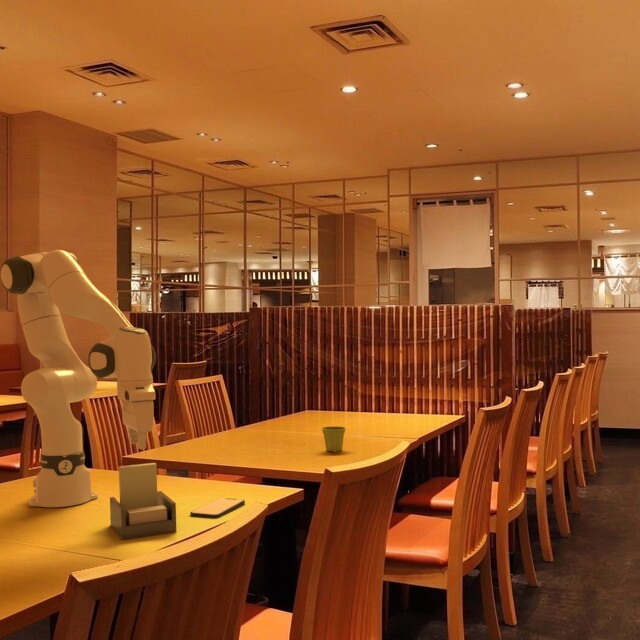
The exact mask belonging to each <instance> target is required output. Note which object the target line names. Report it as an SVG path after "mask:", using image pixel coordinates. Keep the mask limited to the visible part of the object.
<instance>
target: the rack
mask: <svg viewBox="0 0 640 640" xmlns="http://www.w3.org/2000/svg"><path fill="white" fill-rule="evenodd" d="M157 500H158V506H162V505H164V506H165V507H166V508H167V520H162V521H155V522H148V523H141V524H134V525H127V526H126V523H127V516H126V512H125V509H124V508H123V506H122V505H121V504H120V501H119V500H117V498H116V497H115V496H110V497H109V513H110V515H109V517H110V526H111V527H112V529H113V530H114V532H115V533H116V534H117V535H118V537H119V538H120V539H121V541H126V540H131V539H138V538H139V539H140V538H144V537H145V538H146V537H151V536H153V537H154V536H159V535H166V534H171V533H177V531H178V530H177V505H176V502H175V501H174V500H172V499H171V497H169V496H168V495H166V494H165V493H164V492H163V491H162V490H157Z"/></svg>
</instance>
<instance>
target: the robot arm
mask: <svg viewBox="0 0 640 640" xmlns="http://www.w3.org/2000/svg"><path fill="white" fill-rule="evenodd" d="M80 264H81V263H80V262H79V259H78V258H77V256H76V255H75V254H74V253H73V252H72V253H71V252H68V251H66V250H62V249H54V250H50V251H44V252H43V251H42V252H41V251H40V252H37V253H29V254H26V255H21V256H19V255H15V256H12V257H9V258H7V259H5V260H4V261H3V262H2V265H1V266H0V279H1V283H2V284H1V285H2V286H3V287H4V289H5V290H6V291H7V292H9V293H10V294H14V295H17V298H16V299H17V308H18V315H19V316H18V317H19V320H20V325H21V328H22V331H23V335H24V339H25V342H26V344H27V348H28V352H30V354H31V355H32V356H34V357H35V358H36V359H38V360H39V361H40V362H41V364H42V365H43V367H42V368H38V369H36V370H34V371H31V372H29V373H27V374H26V375H25V376H24V377H23V378H22V381H21V385H20V392H21V396H22V398H23V400H24V402H26V403H27V404H28V405H29V406H31V408H32V409H33V411H34V412H35V413H34V414H35V416H36V417H37V420H38V423H39V427H40V437H41V454H40V459H39V462H40V467H41V469H40V471H39V472H38V473H37V474H36V476H35V478H34V479H33V480H32V482H33V483H32V485H33V488H34V492H33V495H32V497H31V498H30V500H29V502H28V506H29V507H40V508H41V507H43V508H64V507H72V506H76V505H82V504H85V503H88V502H89V501H91V500H94V499H98V498H99V496H98V493H96V492H94V491H92V490H93V489H92V479H91V476H92V475H91V470H90V469H89V468H88V467H86V465H85V462H86V460H85V459H86V455H85V451H84V449H83V427H82V426H83V425H82V423H81V422H80V421H79V420H78V419H76V417H75V416H74V414H73V412H72V409H71V403H76V402H77V403H79V402H81V401H83V400H85V399H87V398H88V397H91V395H93V394H94V392H95V391H96V390H97V385H98V379H116V386H117V387H116V391H117V400H120V401H121V405H122V407H121V408H122V410H121V411H122V412H121V413H122V419H121V420H122V424H123V425H124V426H125V427H127V431H128V436H129V444H130V445H137V449H138V450H145V449H147V437H148V432H149V433H150V432H152V431H153V428H154V414H155V413H154V412H155V411H154V409H155V408H154V407H155V405H154V400H156V391H155V388H154V380H153V379H154V377H153V373H152V371H153V369H154V367H155V365H156V360H157V356H156V354H157V353H156V350H155V349H154V347H153V345H152V343H151V339H150V336H149V333H148V331H147V330H145V329H144V328H142V327H134V326H133V325H132V324H131V322H130V321H129V320H128V318H127V317H126V315H125V314H124V312H122V311H121V310H120V308H119V307H118V306H117V304H116V303H114V301H112V300H111V299H110V298H109V297H108V296H106V295H105V294H104V293H102V292H101V291H100V289H98V288H97V287H96V286H95V285H94V284H93V283H92V281H91V280H90V279H89V277H88V275H87V273H85V271H84V270H83V268H82V266H81V265H80ZM61 312H62V313H63V314H65V315H67V316H71V317H72V318H73V317H74V318H78V319H82V320H87V321H91V322H94V323H96V324H99V325H100V326H102V327H104V328H105V329H106V331H107V332H108V333H109V334H110V335H111V336H110V337H108V338H107V339H105V340H102V341H100V342H97V343H95V344H94V345H92V347H91V349H90V350H89V353H88V358H87V359H88V366H87V365H86V364H85V363H84V362H83V361H82V360H81V359H80V357H79V356H78V354H77V353H76V351H75V349H74V348H73V346H72V344H71V342H70V340H69V338H68V334H67V332H66V329H65V326H64V322H63V320H62V315H61Z"/></svg>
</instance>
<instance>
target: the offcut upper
mask: <svg viewBox="0 0 640 640" xmlns="http://www.w3.org/2000/svg"><path fill="white" fill-rule="evenodd" d="M162 520H167V508H166V507H165V506H164V505H162V506H154V507H146V508H138V509H131V510H127V523H128V524H129V525H134V524H141V523H148V522H155V521H162Z"/></svg>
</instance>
